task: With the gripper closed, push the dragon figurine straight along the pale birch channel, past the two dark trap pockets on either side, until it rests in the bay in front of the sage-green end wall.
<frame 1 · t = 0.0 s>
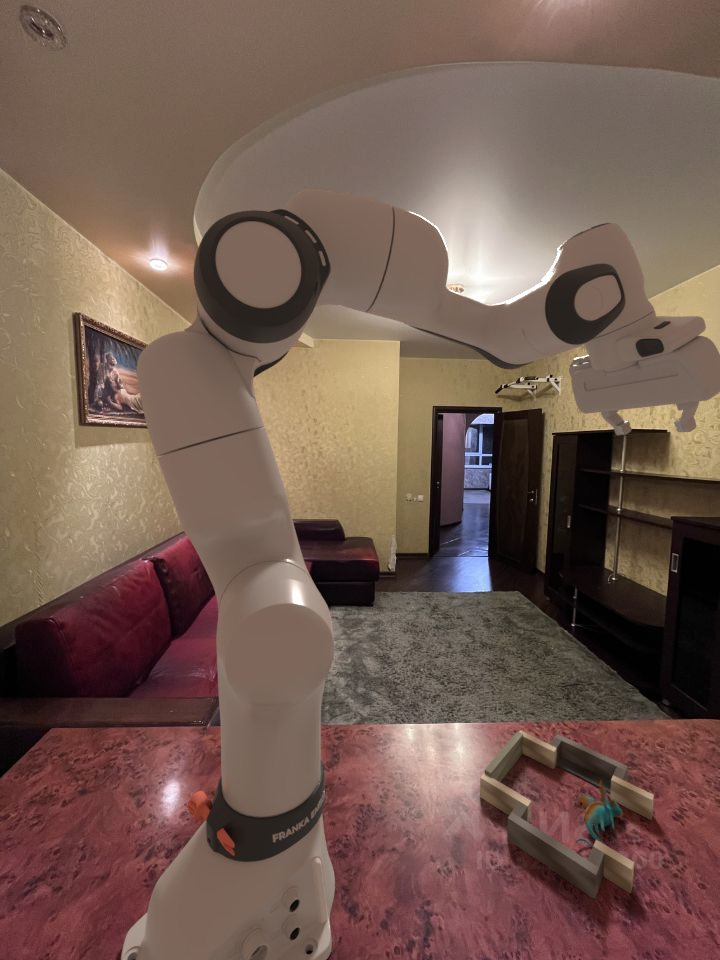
hand: (653, 432, 60), 54 cm above the table, tool tilted 30°, fingers open, 8 cm apart
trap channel: (560, 803, 59), on the table
dragon figurine: (596, 828, 56), on the table
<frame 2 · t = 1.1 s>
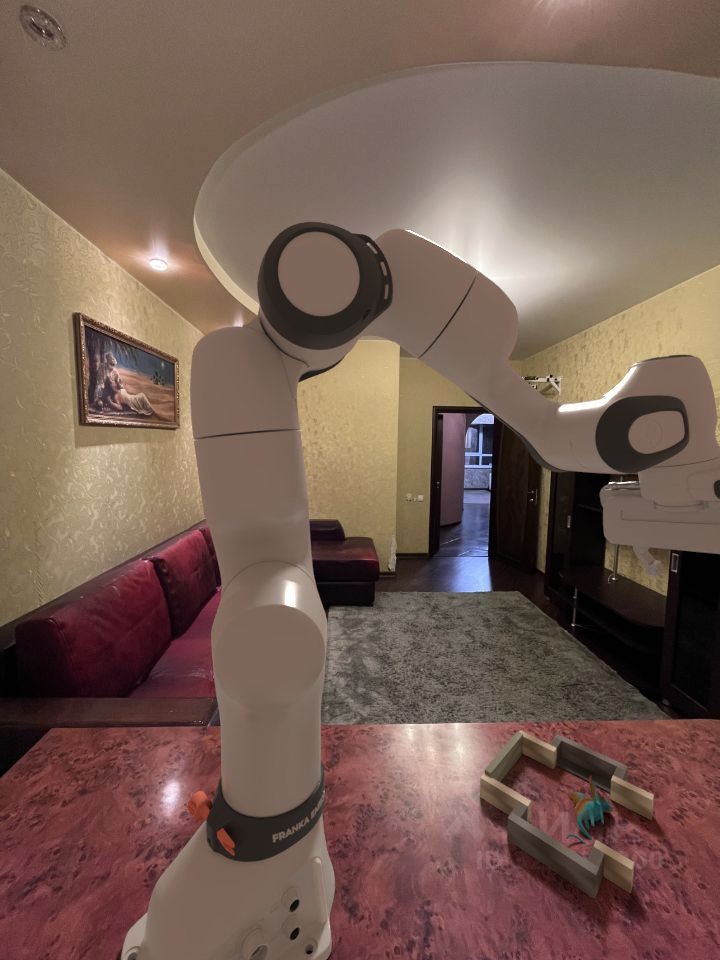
hand: (694, 579, 54), 34 cm above the table, tool pointing down, fingers open, 8 cm apart
dragon figurine: (586, 824, 57), on the table
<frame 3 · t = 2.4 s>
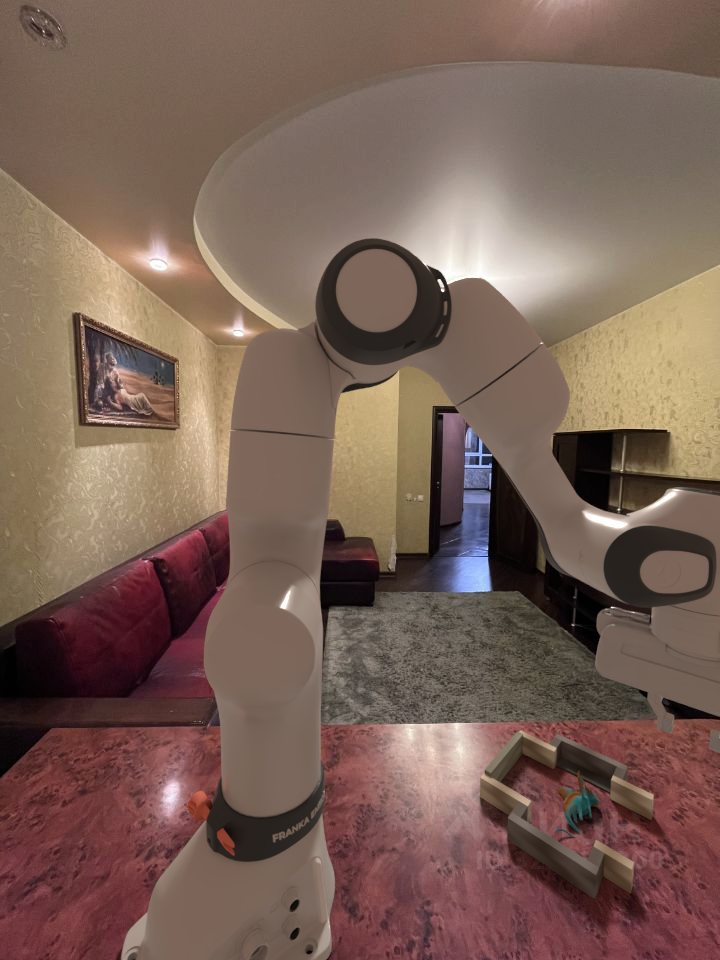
hand: (690, 739, 48), 17 cm above the table, tool pointing down, fingers open, 3 cm apart
dragon figurine: (574, 818, 57), on the table
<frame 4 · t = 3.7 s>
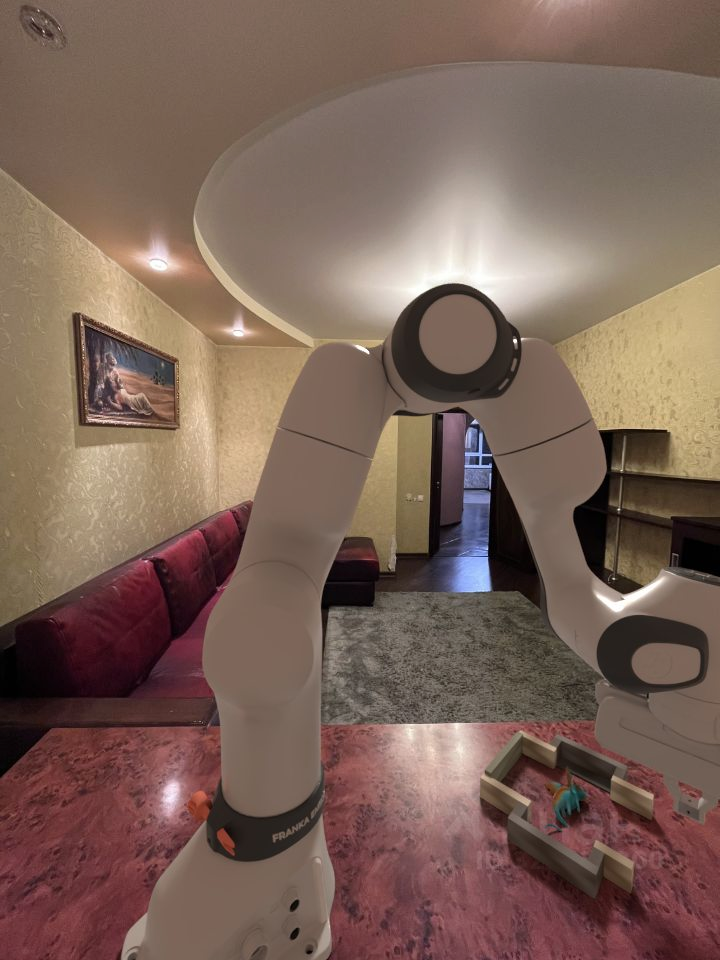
hand: (689, 814, 49), 7 cm above the table, tool pointing down, fingers closed
dragon figurine: (562, 812, 58), on the table
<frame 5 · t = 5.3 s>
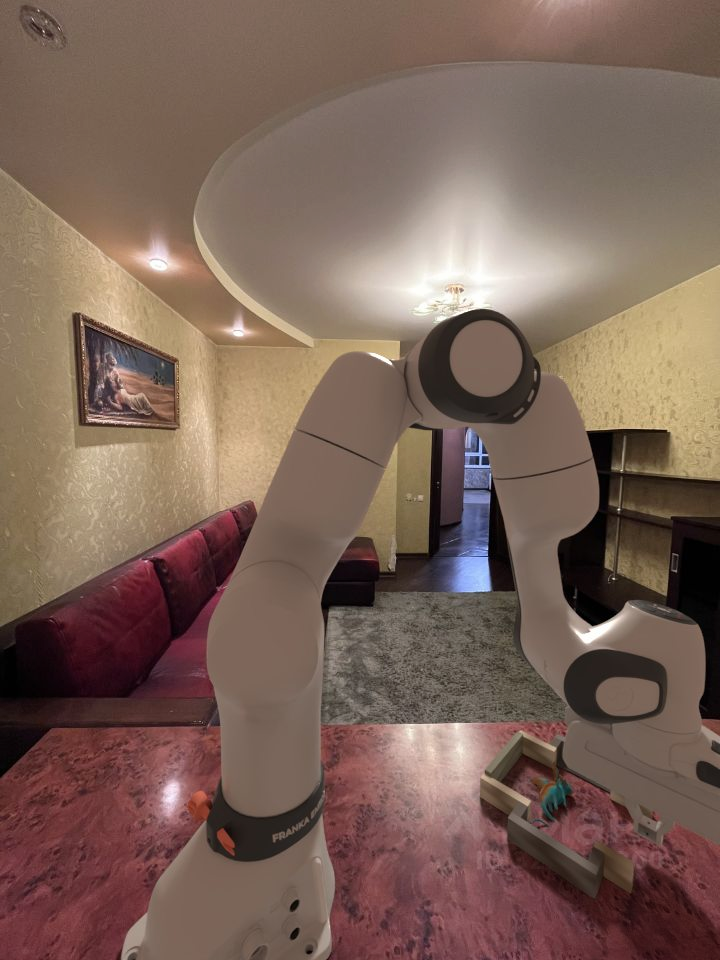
hand: (648, 836, 52), 2 cm above the table, tool pointing down, fingers closed
dragon figurine: (549, 807, 59), on the table
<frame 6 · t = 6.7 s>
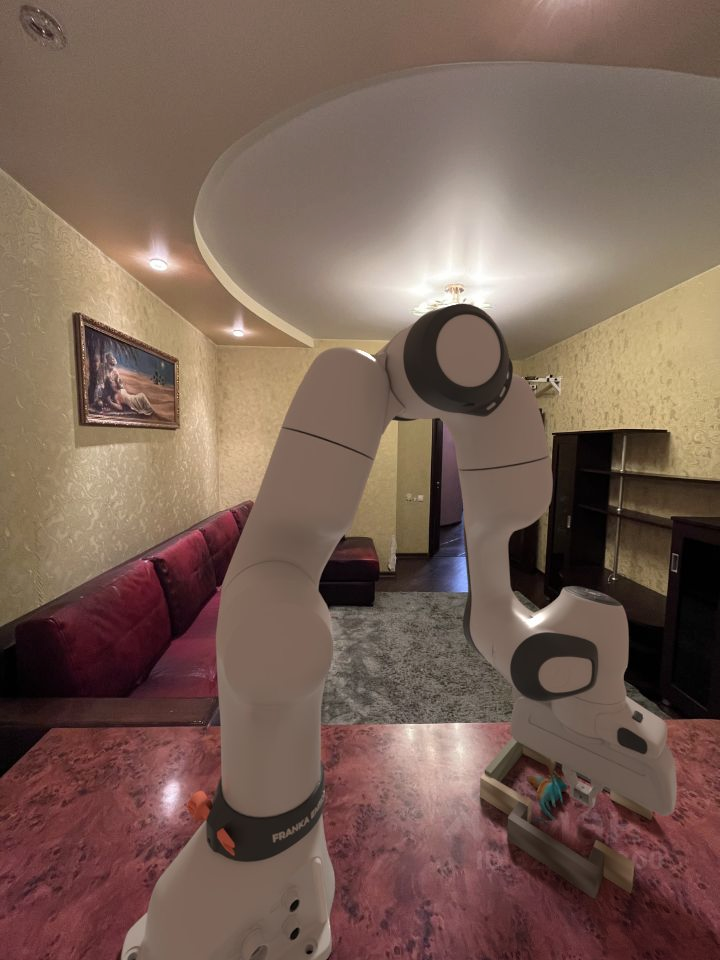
hand: (582, 799, 57), 3 cm above the table, tool pointing down, fingers closed
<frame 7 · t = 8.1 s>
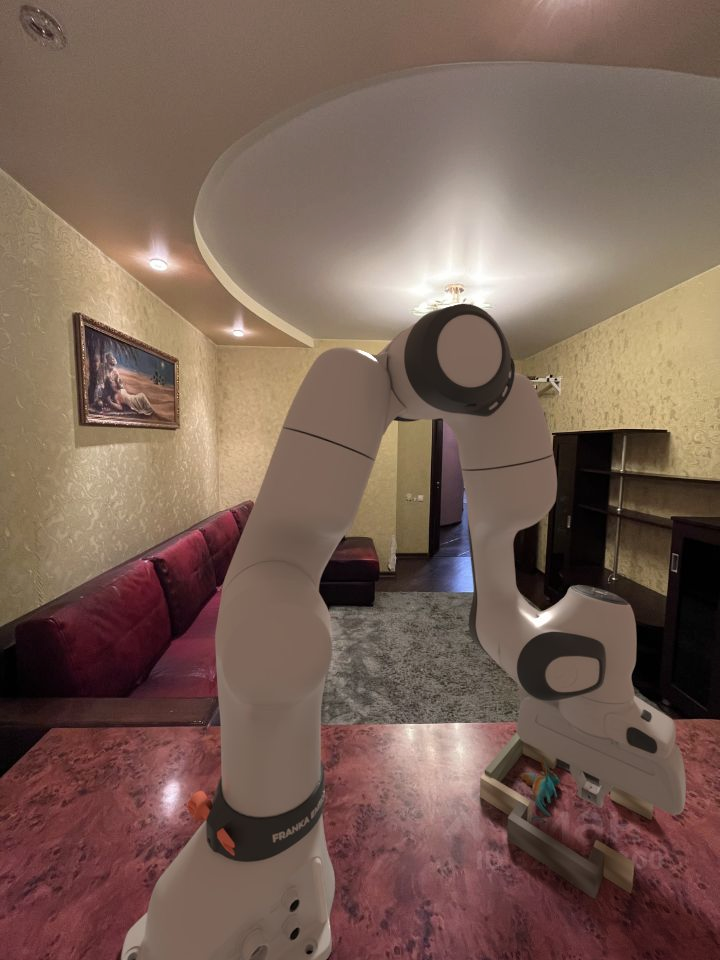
hand: (590, 799, 57), 3 cm above the table, tool pointing down, fingers closed
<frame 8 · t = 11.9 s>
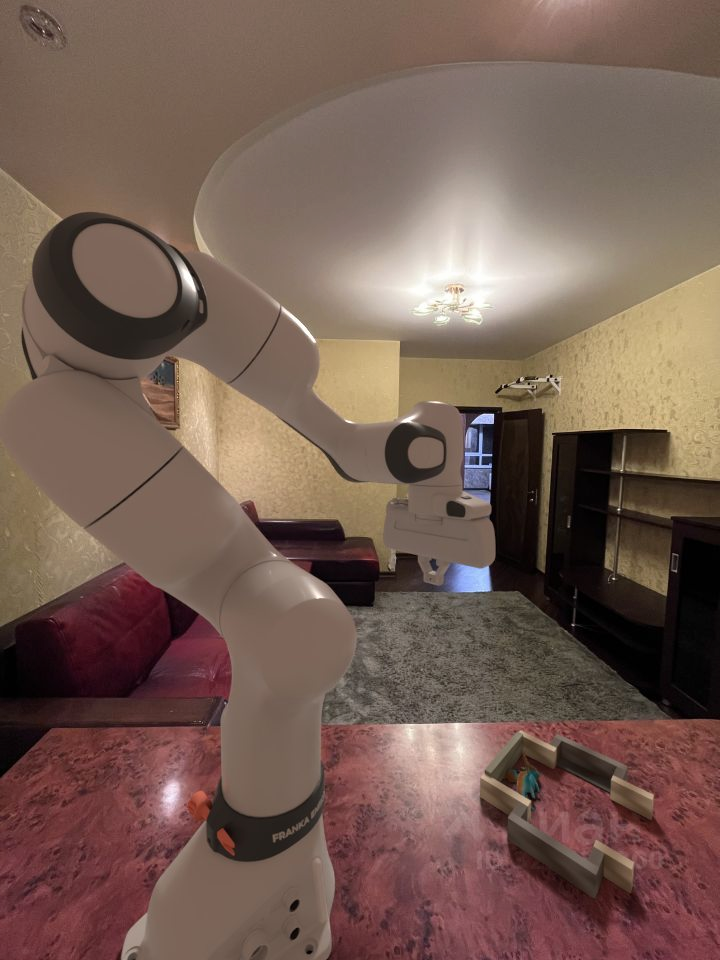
hand: (433, 583, 68), 29 cm above the table, tool pointing down, fingers closed
dragon figurine: (524, 797, 61), on the table
at the end: dragon figurine inside the target area (2.0 cm from its centre), on the table; dragon figurine moved 9.8 cm from its start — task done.
